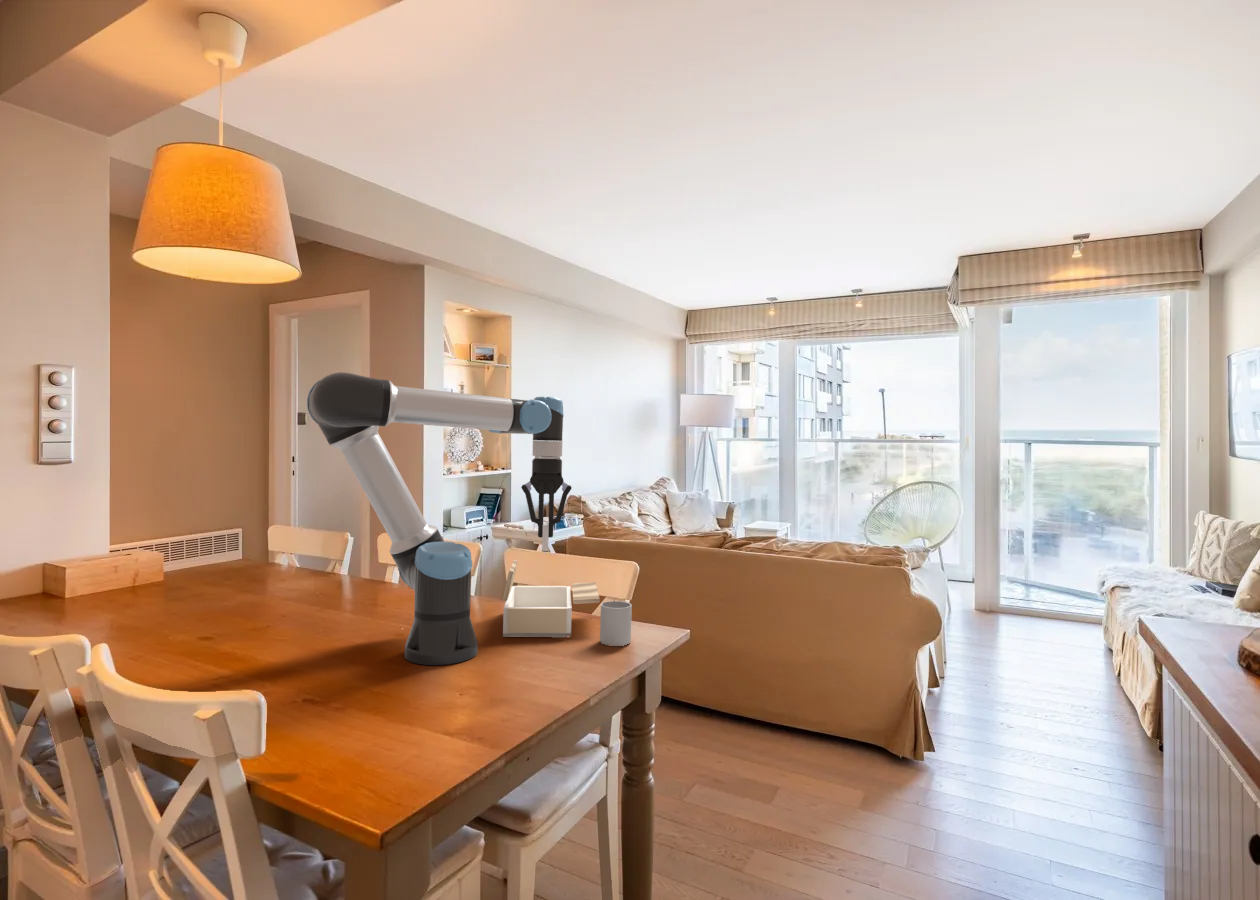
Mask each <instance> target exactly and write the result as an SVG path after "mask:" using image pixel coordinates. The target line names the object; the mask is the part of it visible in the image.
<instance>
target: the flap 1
mask: <svg viewBox="0 0 1260 900" xmlns="http://www.w3.org/2000/svg"><path fill="white" fill-rule="evenodd" d="M517 565H518V560H517V559H513V561H512V564H511V566H510V568H509V571H508V574H507V578H506V582H505V588H504V592H503V597H502V601H505V602H506V601H507V600H508V597H509V594H510V591H511V588H512V586H514V579H515V575H516V570H517Z"/></svg>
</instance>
